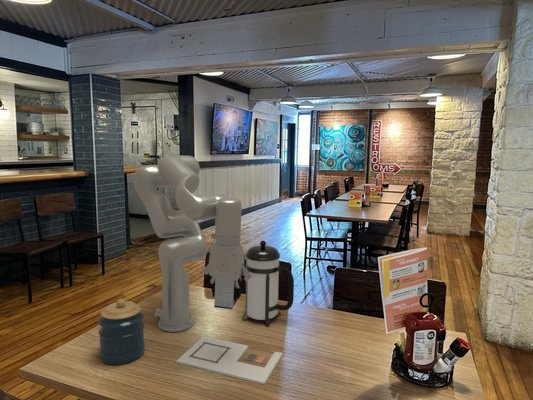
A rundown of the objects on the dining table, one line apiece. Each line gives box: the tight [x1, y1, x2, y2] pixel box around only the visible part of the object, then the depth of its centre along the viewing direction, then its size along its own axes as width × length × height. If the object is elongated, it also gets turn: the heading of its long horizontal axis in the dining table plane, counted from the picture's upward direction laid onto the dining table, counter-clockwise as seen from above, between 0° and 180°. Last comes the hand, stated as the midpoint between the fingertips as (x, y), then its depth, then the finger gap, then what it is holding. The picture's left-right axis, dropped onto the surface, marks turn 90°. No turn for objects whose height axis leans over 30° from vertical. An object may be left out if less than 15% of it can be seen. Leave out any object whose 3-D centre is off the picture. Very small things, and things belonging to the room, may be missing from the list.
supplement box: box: [213, 270, 238, 310], centre depth 112 cm, size 6×6×12 cm
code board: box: [175, 335, 283, 386], centre depth 113 cm, size 28×16×1 cm, turn 70°
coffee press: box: [241, 240, 295, 327], centre depth 139 cm, size 17×16×30 cm
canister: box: [97, 298, 146, 366], centre depth 113 cm, size 13×13×18 cm
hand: (226, 296), depth 113 cm, fingers closed on supplement box, 6 cm apart
